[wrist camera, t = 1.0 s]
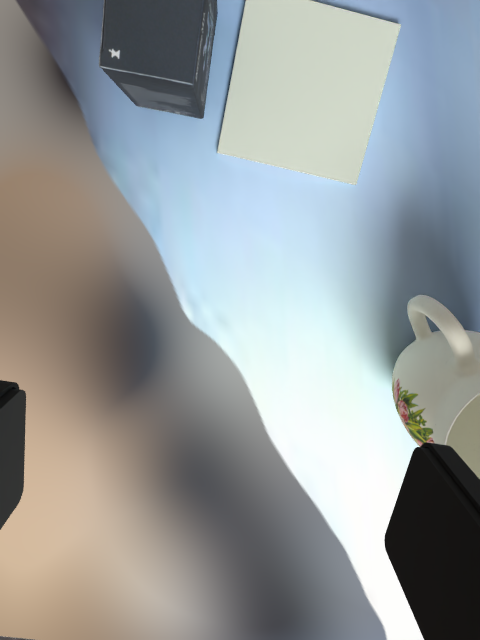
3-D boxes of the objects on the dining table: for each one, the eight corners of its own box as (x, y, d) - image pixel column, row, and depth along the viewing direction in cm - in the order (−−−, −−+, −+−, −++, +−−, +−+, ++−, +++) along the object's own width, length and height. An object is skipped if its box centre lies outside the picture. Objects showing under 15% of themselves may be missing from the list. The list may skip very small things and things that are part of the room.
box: (204, 120, 34) (193, 87, 24) (135, 106, 34) (94, 67, 23) (219, 9, 32) (214, -79, 22) (145, -6, 31) (105, -103, 21)
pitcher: (444, 250, 37) (560, 278, 24) (510, 405, 42) (638, 500, 29) (335, 309, 39) (389, 367, 26) (411, 453, 43) (490, 565, 30)
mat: (248, -14, 31) (248, -17, 31) (399, 26, 32) (401, 24, 32) (217, 152, 35) (217, 152, 34) (354, 184, 36) (356, 184, 35)
